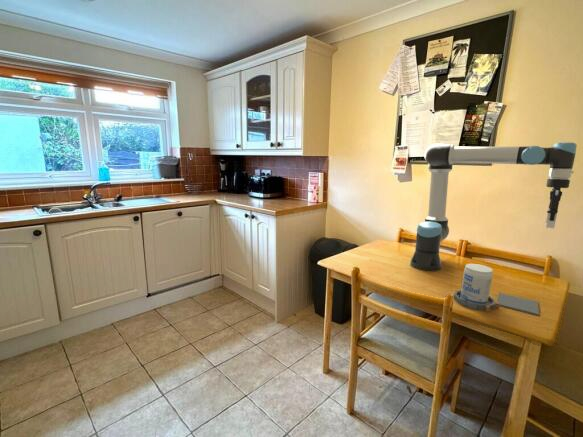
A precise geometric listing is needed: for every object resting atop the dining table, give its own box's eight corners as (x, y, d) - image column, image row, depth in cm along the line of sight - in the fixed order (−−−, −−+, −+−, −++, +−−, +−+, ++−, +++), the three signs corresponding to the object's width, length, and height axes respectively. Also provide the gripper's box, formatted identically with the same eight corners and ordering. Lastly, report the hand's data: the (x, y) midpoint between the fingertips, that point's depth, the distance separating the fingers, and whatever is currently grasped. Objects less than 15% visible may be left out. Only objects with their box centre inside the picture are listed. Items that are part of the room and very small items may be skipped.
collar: (451, 303, 118) (451, 298, 118) (457, 291, 129) (457, 286, 129) (496, 315, 109) (497, 310, 109) (498, 301, 120) (499, 296, 120)
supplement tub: (457, 302, 119) (462, 267, 116) (462, 294, 126) (467, 261, 123) (486, 310, 113) (491, 273, 110) (489, 301, 120) (494, 267, 117)
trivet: (496, 305, 117) (496, 303, 117) (498, 293, 127) (498, 292, 127) (538, 315, 109) (539, 314, 109) (537, 302, 120) (537, 301, 119)
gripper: (572, 180, 119) (562, 231, 123) (568, 177, 138) (559, 222, 142) (548, 179, 124) (538, 228, 128) (547, 177, 143) (539, 220, 147)
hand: (549, 225), depth 135 cm, fingers open, 13 cm apart
